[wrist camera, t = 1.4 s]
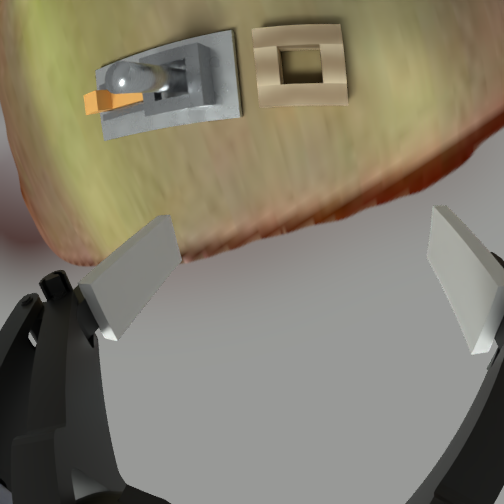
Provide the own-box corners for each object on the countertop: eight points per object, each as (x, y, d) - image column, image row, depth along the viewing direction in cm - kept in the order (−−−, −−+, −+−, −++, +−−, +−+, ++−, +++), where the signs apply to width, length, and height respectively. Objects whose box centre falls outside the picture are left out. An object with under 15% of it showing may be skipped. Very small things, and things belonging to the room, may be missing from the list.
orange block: (105, 93, 35) (83, 95, 31) (150, 78, 33) (129, 78, 29) (108, 111, 36) (86, 115, 32) (152, 98, 34) (131, 100, 30)
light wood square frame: (257, 35, 29) (251, 28, 26) (338, 31, 26) (340, 24, 23) (265, 107, 33) (259, 107, 30) (345, 105, 31) (348, 105, 28)
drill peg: (171, 72, 32) (103, 67, 20) (193, 67, 31) (130, 56, 19) (174, 94, 34) (106, 97, 22) (196, 90, 33) (133, 89, 21)
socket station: (100, 70, 34) (78, 70, 30) (233, 31, 29) (220, 22, 25) (108, 139, 40) (87, 146, 35) (242, 116, 35) (230, 119, 30)
